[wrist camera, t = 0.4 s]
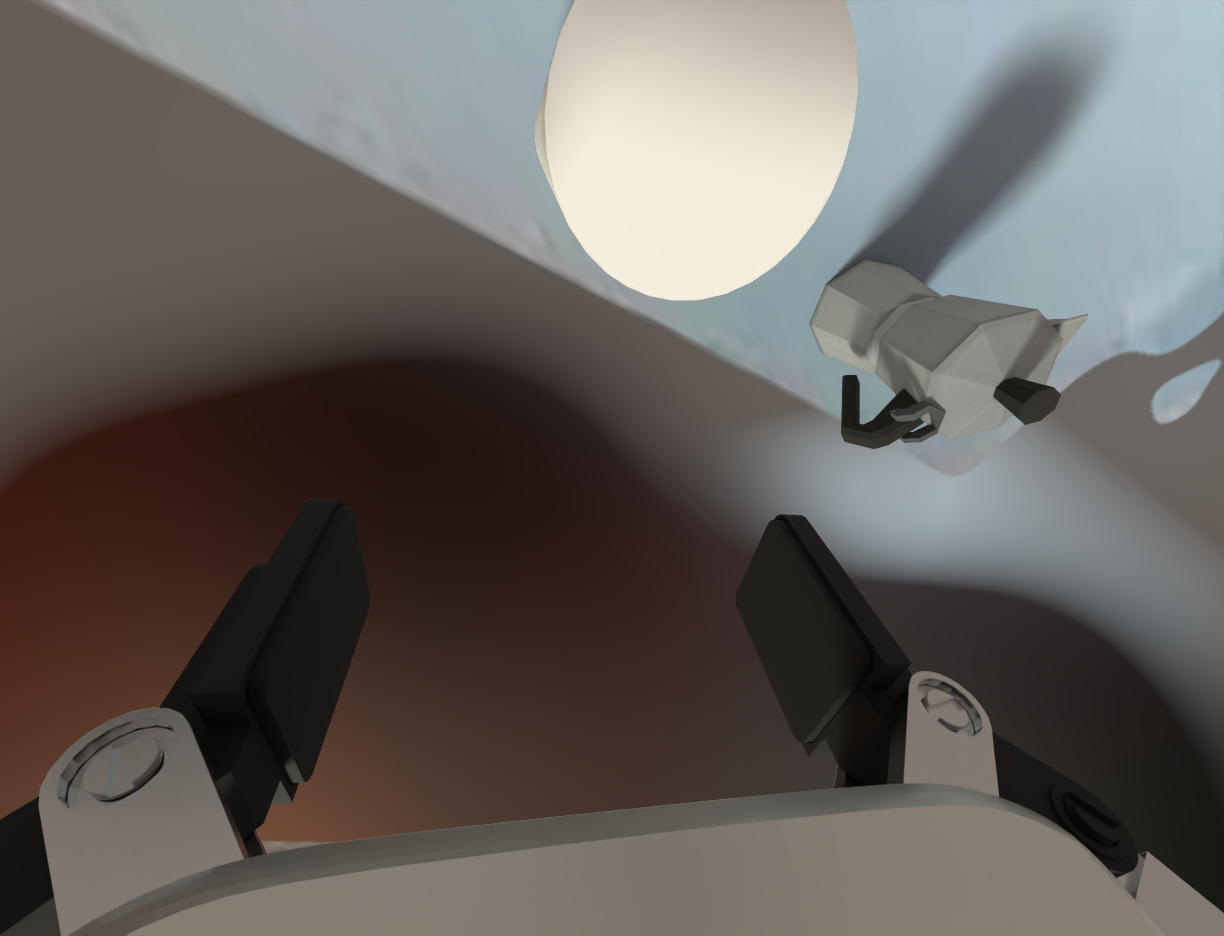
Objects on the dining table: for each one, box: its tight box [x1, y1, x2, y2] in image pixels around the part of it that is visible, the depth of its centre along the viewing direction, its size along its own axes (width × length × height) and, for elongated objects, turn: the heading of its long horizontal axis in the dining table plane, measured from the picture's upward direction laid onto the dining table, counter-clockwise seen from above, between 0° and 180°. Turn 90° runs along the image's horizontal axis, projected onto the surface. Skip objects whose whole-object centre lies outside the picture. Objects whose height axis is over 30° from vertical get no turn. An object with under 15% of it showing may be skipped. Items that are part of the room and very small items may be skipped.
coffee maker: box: [810, 259, 1088, 449], centre depth 33 cm, size 15×9×18 cm, turn 124°
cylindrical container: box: [535, 0, 858, 300], centre depth 21 cm, size 7×7×25 cm
